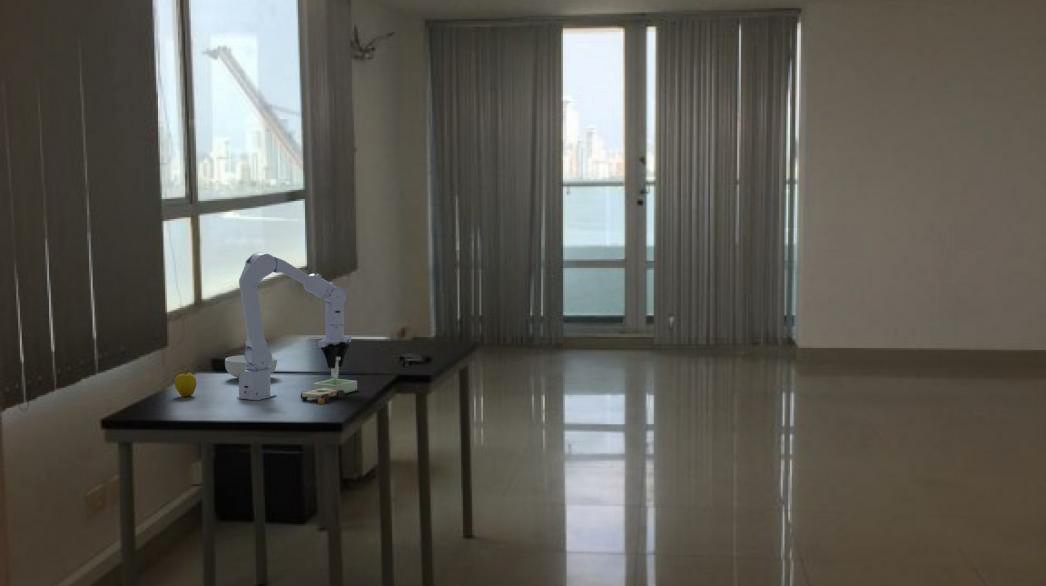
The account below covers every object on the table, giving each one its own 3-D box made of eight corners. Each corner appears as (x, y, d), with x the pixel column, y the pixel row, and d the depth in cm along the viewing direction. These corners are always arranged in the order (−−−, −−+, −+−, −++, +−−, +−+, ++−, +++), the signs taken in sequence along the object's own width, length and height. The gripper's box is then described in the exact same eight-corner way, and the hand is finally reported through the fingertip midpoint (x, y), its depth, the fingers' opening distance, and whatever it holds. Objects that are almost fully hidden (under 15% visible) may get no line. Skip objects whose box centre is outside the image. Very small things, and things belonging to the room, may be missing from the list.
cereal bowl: (230, 384, 384) (229, 362, 383) (221, 376, 399) (220, 356, 398) (282, 381, 391) (281, 360, 390) (271, 374, 406) (271, 353, 405)
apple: (196, 394, 365) (195, 368, 364) (197, 397, 359) (196, 371, 358) (174, 395, 363) (174, 369, 362) (175, 398, 357) (174, 372, 356)
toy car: (321, 403, 350) (321, 395, 350) (297, 401, 354) (297, 392, 354) (345, 397, 361) (345, 389, 360) (322, 395, 365) (322, 386, 364)
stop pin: (335, 379, 369) (336, 357, 368) (327, 378, 370) (328, 356, 370) (341, 378, 371) (342, 356, 371) (333, 377, 373) (334, 355, 373)
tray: (336, 395, 365) (336, 385, 364) (312, 392, 369) (312, 383, 368) (357, 390, 374) (357, 380, 374) (334, 387, 378) (334, 378, 378)
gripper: (331, 327, 361) (331, 371, 363) (358, 323, 374) (359, 365, 375) (312, 326, 365) (313, 369, 366) (340, 321, 377) (341, 363, 379)
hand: (335, 367), depth 371 cm, fingers closed on stop pin, 3 cm apart
